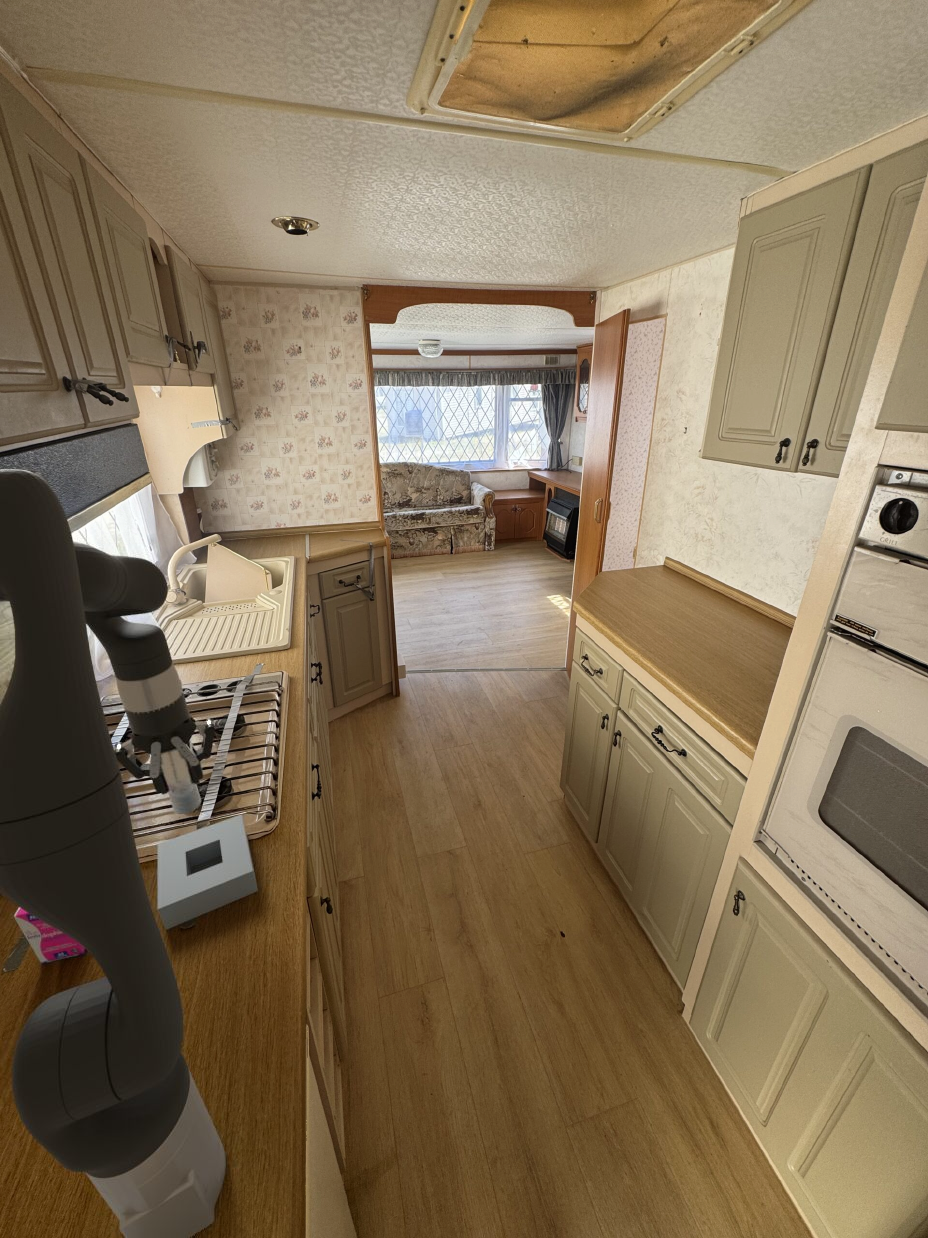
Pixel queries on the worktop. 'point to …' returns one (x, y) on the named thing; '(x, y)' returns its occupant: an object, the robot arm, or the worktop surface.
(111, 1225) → the worktop surface
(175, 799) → the pin
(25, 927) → the supplement box
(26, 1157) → the worktop surface
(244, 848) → the bore block
